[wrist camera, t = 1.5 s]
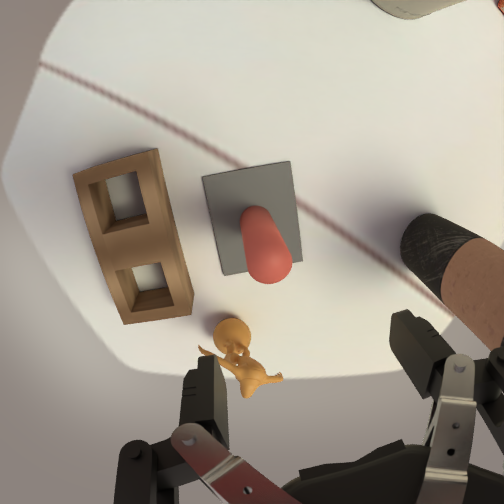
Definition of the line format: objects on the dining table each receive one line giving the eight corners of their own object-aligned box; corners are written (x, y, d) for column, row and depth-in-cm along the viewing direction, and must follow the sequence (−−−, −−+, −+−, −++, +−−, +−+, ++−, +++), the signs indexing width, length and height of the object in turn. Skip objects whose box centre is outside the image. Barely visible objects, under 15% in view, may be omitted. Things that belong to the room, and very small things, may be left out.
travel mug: (398, 279, 34) (503, 397, 15) (396, 218, 31) (534, 320, 12) (447, 262, 34) (555, 355, 15) (448, 204, 31) (582, 281, 12)
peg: (237, 208, 29) (243, 247, 20) (269, 203, 29) (289, 238, 20) (242, 238, 30) (251, 287, 21) (273, 233, 30) (294, 279, 21)
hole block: (90, 167, 26) (72, 174, 22) (157, 148, 26) (147, 151, 22) (133, 303, 32) (123, 324, 28) (194, 293, 32) (191, 314, 28)
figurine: (189, 325, 34) (180, 409, 23) (212, 282, 32) (209, 362, 21) (255, 349, 36) (268, 431, 25) (282, 311, 34) (306, 391, 23)
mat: (202, 176, 28) (202, 177, 27) (289, 161, 28) (290, 161, 27) (224, 274, 31) (224, 276, 31) (302, 259, 32) (302, 261, 31)
